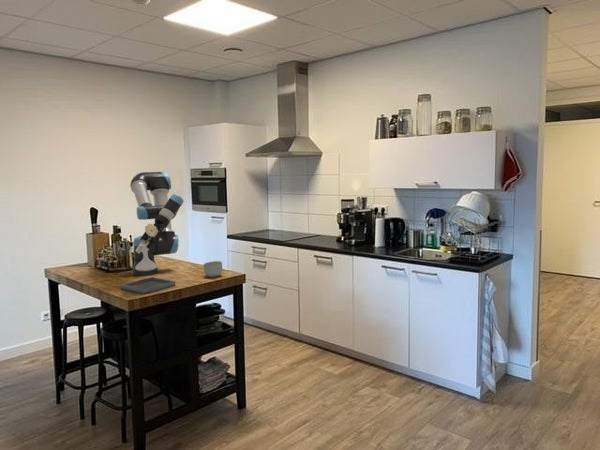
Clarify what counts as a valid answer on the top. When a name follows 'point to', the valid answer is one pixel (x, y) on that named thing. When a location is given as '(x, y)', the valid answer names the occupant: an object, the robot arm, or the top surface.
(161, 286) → the charcoal tray
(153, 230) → the flower in vase
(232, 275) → the top surface
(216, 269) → the teacup
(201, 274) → the top surface
